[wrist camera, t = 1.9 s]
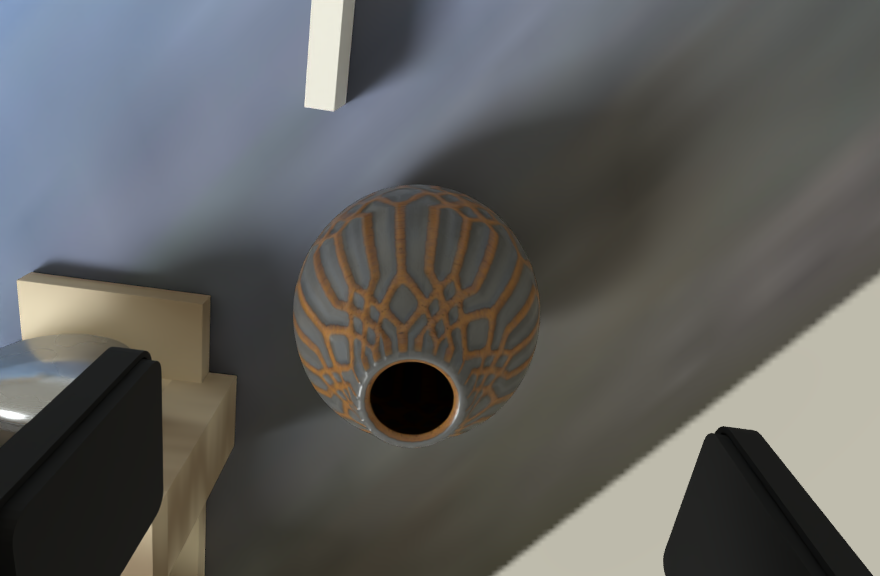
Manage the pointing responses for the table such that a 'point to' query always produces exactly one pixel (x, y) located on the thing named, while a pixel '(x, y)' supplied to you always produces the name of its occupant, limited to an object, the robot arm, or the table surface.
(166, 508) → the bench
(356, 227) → the vase
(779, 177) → the table surface
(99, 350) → the mallet
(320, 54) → the cradle
